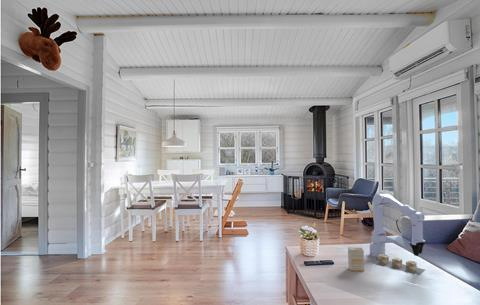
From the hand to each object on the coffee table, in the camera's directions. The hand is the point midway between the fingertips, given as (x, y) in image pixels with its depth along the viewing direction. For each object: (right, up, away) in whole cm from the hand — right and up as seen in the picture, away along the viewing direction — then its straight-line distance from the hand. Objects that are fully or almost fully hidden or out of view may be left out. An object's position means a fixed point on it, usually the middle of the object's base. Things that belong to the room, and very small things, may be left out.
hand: (417, 254), depth 175 cm
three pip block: (-5, -9, -1) cm, 10 cm away
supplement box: (-37, -10, +1) cm, 39 cm away
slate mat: (-10, -10, +5) cm, 15 cm away
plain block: (-10, -9, +5) cm, 14 cm away
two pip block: (-15, -9, +11) cm, 21 cm away
